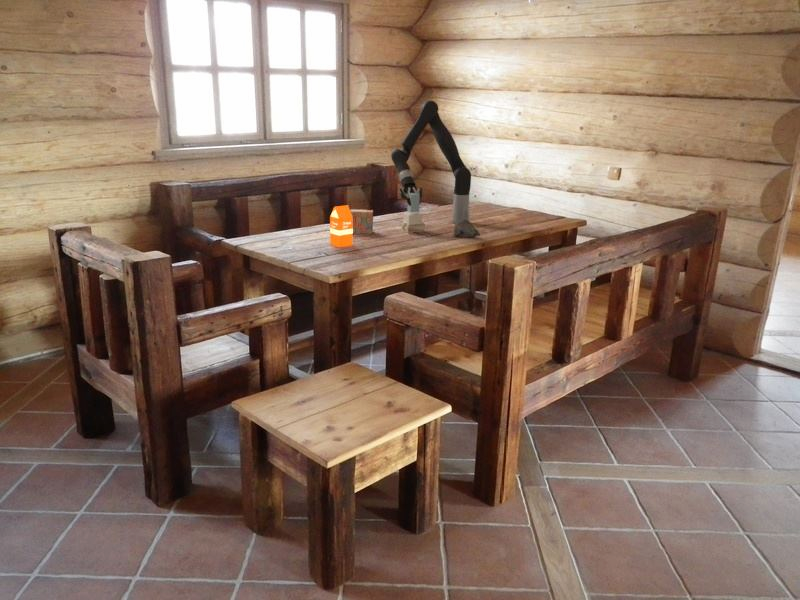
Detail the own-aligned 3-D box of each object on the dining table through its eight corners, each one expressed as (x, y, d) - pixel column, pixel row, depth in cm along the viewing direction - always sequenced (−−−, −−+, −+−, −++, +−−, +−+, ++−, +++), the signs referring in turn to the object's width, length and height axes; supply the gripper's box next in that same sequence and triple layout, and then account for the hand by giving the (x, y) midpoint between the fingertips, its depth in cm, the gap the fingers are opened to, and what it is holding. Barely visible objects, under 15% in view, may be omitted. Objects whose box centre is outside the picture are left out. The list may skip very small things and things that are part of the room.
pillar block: (407, 210, 383) (407, 193, 380) (415, 210, 385) (416, 192, 381) (410, 212, 378) (411, 194, 375) (419, 212, 380) (419, 194, 377)
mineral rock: (481, 238, 370) (482, 220, 366) (466, 240, 363) (467, 222, 360) (465, 234, 379) (466, 216, 376) (450, 236, 373) (451, 218, 370)
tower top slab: (403, 221, 385) (403, 212, 384) (416, 220, 388) (416, 212, 387) (408, 224, 378) (408, 215, 377) (422, 223, 381) (422, 214, 379)
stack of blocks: (333, 233, 375) (333, 210, 372) (334, 230, 381) (334, 208, 378) (372, 234, 375) (372, 211, 371) (373, 231, 381) (373, 209, 377)
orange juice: (353, 244, 349) (353, 206, 343) (339, 247, 343) (338, 207, 337) (343, 242, 355) (343, 203, 348) (329, 244, 349) (329, 205, 343)
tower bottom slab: (401, 230, 387) (401, 221, 386) (417, 229, 391) (417, 220, 389) (408, 233, 378) (408, 224, 377) (424, 232, 382) (424, 223, 381)
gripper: (397, 176, 380) (404, 201, 373) (420, 175, 385) (428, 200, 378) (393, 184, 386) (401, 209, 379) (416, 183, 391) (424, 208, 384)
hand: (414, 204), depth 379 cm, fingers closed on pillar block, 4 cm apart
